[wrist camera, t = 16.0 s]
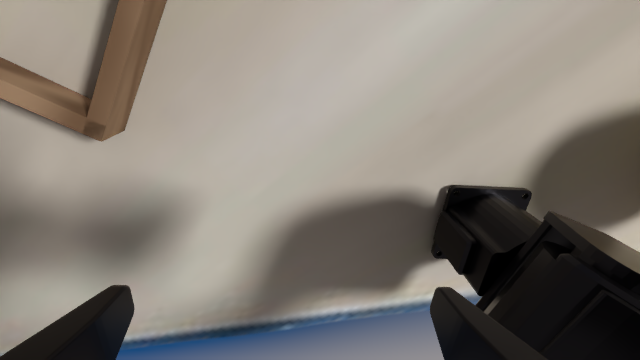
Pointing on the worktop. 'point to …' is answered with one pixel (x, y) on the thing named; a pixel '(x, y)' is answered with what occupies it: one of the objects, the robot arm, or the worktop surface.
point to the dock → (112, 84)
